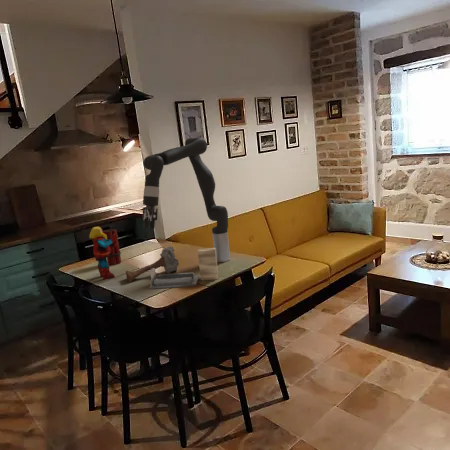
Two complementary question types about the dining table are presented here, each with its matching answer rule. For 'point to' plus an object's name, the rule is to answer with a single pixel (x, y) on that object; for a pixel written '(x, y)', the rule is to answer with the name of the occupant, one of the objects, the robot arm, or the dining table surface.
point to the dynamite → (113, 248)
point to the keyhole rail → (173, 280)
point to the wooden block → (208, 264)
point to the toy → (102, 250)
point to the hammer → (158, 264)
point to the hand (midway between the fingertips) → (148, 228)
